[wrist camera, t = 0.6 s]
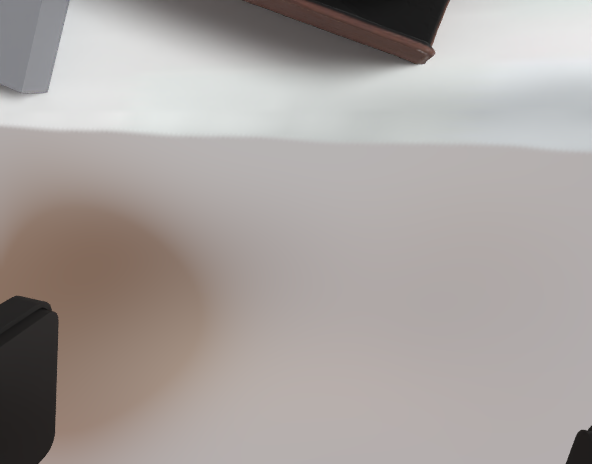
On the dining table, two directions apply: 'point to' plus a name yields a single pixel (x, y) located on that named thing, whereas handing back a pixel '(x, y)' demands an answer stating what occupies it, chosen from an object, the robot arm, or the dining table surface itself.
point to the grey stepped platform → (29, 42)
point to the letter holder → (372, 22)
